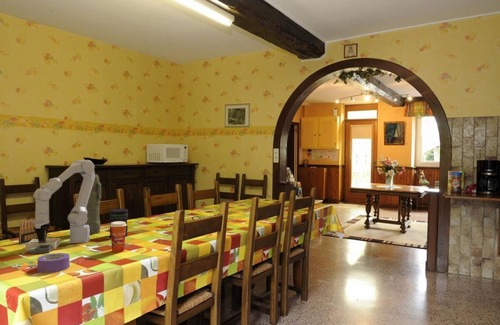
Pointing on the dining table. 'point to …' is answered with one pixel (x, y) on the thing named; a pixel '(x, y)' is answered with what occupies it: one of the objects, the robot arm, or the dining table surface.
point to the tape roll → (53, 262)
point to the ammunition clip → (27, 232)
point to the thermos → (94, 207)
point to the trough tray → (35, 243)
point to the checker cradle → (40, 249)
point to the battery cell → (44, 239)
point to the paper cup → (118, 236)
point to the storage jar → (119, 217)
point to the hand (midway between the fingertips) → (42, 239)
